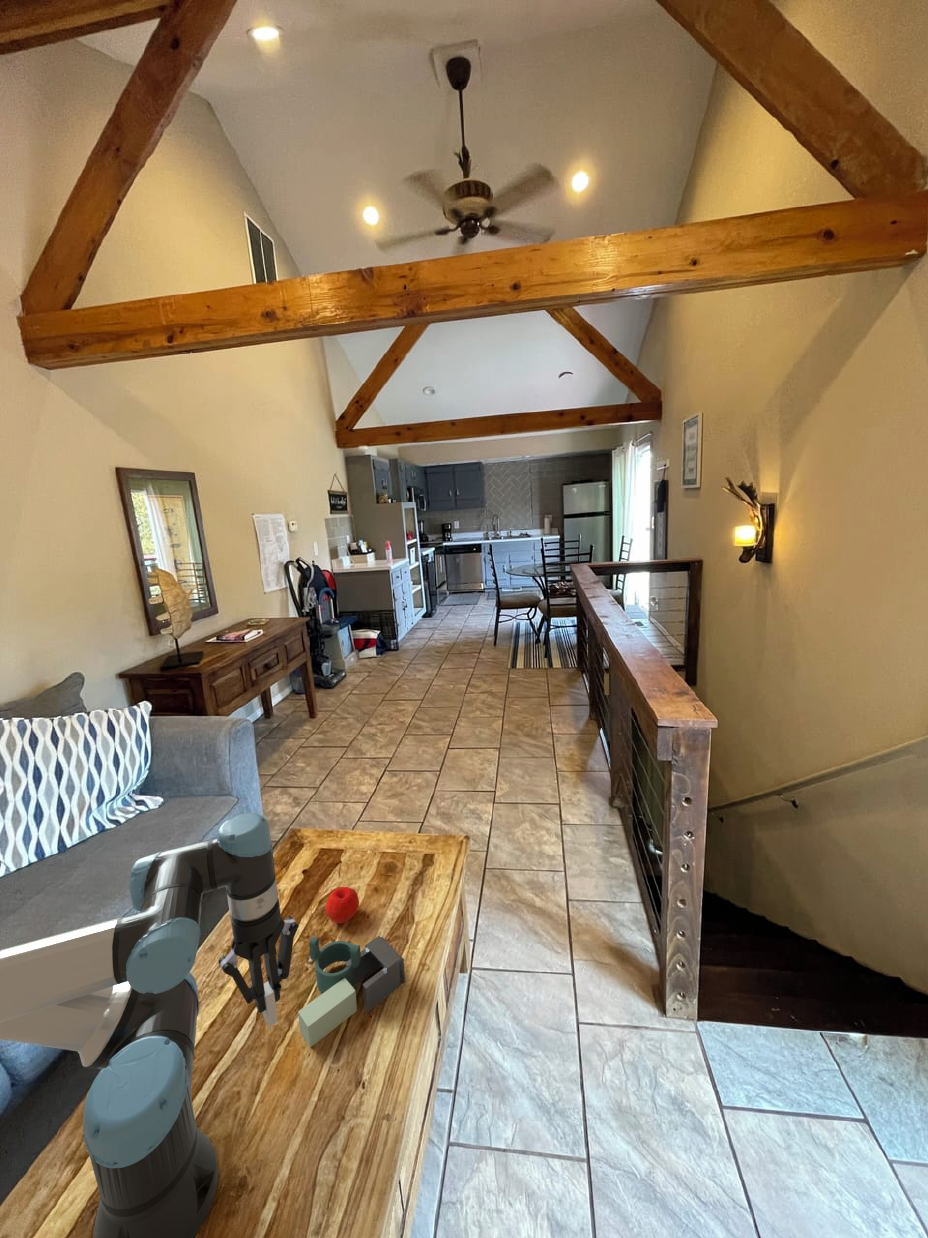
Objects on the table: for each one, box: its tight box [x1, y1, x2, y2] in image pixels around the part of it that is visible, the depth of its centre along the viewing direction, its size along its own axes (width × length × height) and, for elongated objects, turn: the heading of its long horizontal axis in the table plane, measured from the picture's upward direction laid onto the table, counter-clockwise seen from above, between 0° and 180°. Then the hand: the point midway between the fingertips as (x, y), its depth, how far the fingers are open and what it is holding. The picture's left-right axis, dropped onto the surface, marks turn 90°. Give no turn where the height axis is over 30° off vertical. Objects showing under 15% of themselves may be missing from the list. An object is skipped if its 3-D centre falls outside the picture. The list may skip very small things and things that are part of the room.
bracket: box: [308, 936, 361, 994], centre depth 106 cm, size 9×9×9 cm
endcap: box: [344, 935, 406, 1013], centre depth 105 cm, size 9×8×7 cm
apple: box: [325, 886, 360, 924], centre depth 122 cm, size 8×8×7 cm
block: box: [297, 978, 358, 1049], centre depth 97 cm, size 10×4×5 cm, turn 134°
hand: (270, 1019), depth 89 cm, fingers closed
